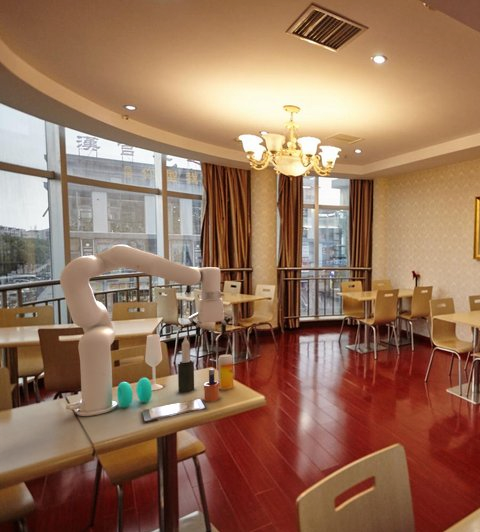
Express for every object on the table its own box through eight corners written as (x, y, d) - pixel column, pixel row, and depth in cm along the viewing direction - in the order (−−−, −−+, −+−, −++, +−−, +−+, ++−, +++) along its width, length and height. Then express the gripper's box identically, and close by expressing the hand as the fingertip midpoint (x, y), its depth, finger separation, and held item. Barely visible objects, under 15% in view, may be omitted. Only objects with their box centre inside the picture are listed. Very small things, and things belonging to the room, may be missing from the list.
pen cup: (205, 403, 158) (205, 386, 158) (203, 399, 163) (203, 382, 163) (220, 400, 162) (219, 383, 161) (217, 396, 166) (217, 380, 166)
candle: (188, 393, 169) (187, 336, 168) (177, 393, 169) (176, 336, 168) (195, 389, 174) (194, 334, 173) (184, 389, 174) (183, 334, 173)
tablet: (144, 423, 140) (144, 420, 140) (142, 412, 150) (142, 409, 150) (205, 410, 152) (205, 407, 152) (200, 400, 161) (200, 398, 161)
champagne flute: (146, 386, 178) (145, 334, 177) (163, 384, 181) (162, 333, 180) (144, 391, 172) (143, 337, 171) (162, 388, 175) (161, 336, 174)
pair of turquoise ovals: (116, 404, 157) (116, 380, 156) (145, 397, 164) (144, 374, 164) (123, 411, 150) (123, 385, 150) (153, 403, 158) (152, 379, 157)
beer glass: (235, 388, 176) (235, 355, 176) (221, 391, 172) (221, 358, 171) (229, 385, 180) (229, 353, 180) (216, 388, 176) (215, 355, 175)
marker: (209, 400, 161) (209, 370, 160) (208, 398, 162) (208, 369, 162) (215, 399, 162) (214, 369, 162) (214, 397, 164) (213, 368, 163)
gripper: (230, 293, 177) (230, 331, 177) (187, 296, 167) (187, 335, 167) (234, 295, 171) (234, 334, 171) (189, 297, 161) (190, 338, 161)
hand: (211, 334), depth 169 cm, fingers open, 9 cm apart
